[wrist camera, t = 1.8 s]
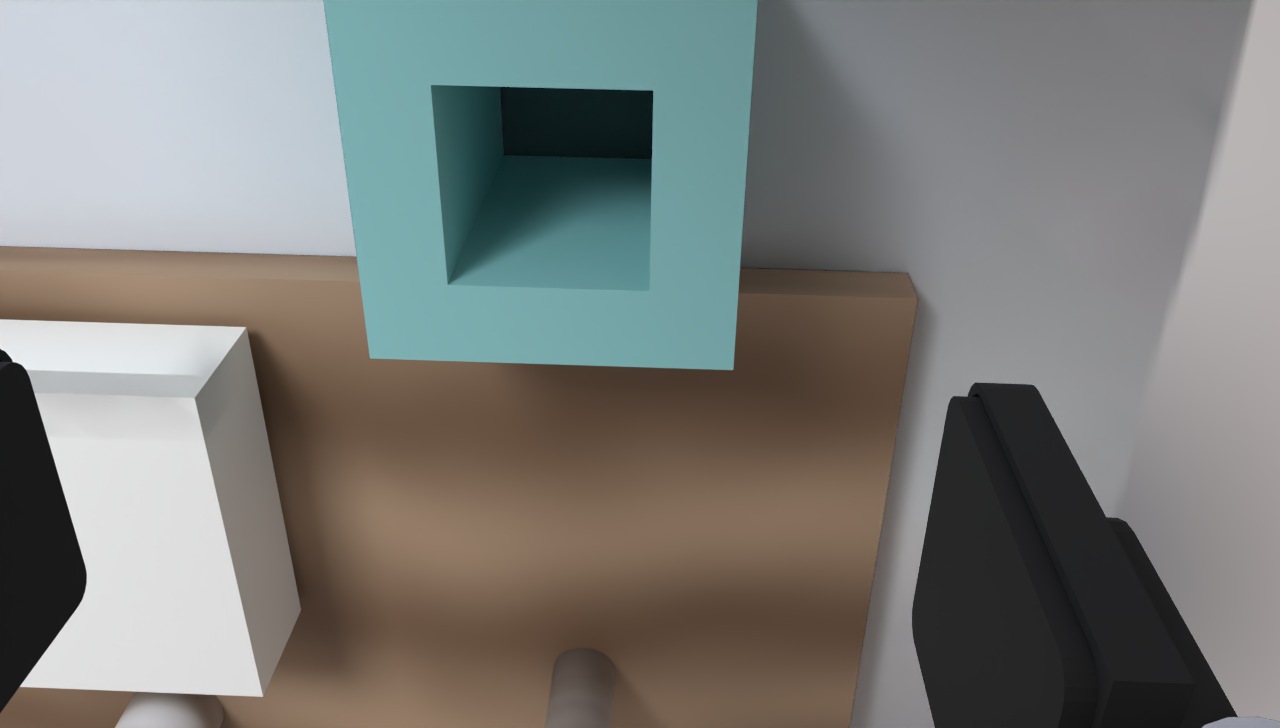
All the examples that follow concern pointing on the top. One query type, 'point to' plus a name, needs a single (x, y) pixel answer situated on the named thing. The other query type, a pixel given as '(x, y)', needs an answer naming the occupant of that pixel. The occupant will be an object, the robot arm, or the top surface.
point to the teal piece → (544, 180)
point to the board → (534, 507)
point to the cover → (162, 507)
